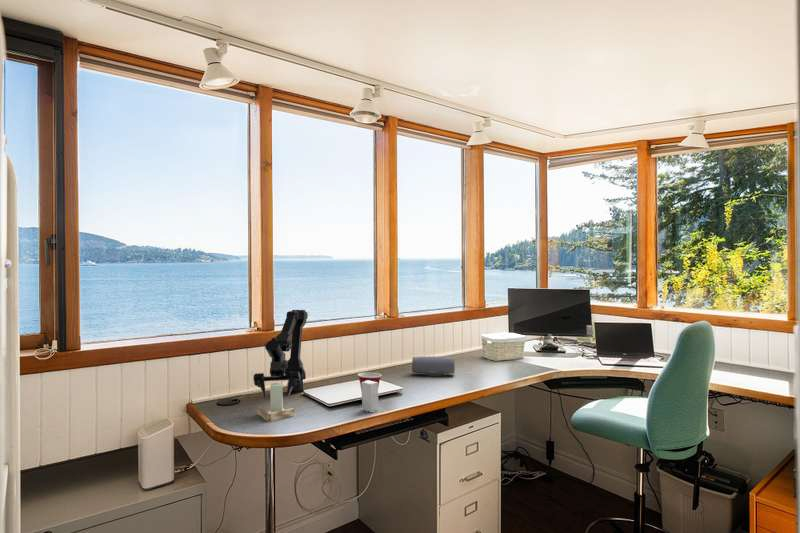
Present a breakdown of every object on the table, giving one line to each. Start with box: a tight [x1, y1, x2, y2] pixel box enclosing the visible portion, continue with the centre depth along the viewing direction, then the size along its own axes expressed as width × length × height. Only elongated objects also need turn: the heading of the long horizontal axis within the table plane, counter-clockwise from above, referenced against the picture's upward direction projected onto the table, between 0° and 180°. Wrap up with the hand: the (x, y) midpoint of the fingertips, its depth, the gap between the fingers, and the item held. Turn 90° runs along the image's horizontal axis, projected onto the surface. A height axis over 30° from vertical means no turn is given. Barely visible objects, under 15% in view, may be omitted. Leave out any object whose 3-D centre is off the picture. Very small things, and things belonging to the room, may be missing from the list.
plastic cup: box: [357, 372, 382, 392], centre depth 218 cm, size 11×11×12 cm
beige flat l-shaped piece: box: [257, 406, 295, 422], centre depth 198 cm, size 11×11×3 cm
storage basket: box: [480, 332, 526, 362], centre depth 306 cm, size 24×16×15 cm
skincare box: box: [360, 380, 380, 413], centre depth 204 cm, size 6×4×12 cm
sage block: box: [269, 382, 284, 413], centre depth 199 cm, size 4×4×12 cm
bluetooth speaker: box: [411, 356, 456, 377], centre depth 264 cm, size 23×9×10 cm, turn 84°
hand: (276, 396), depth 198 cm, fingers open, 9 cm apart
